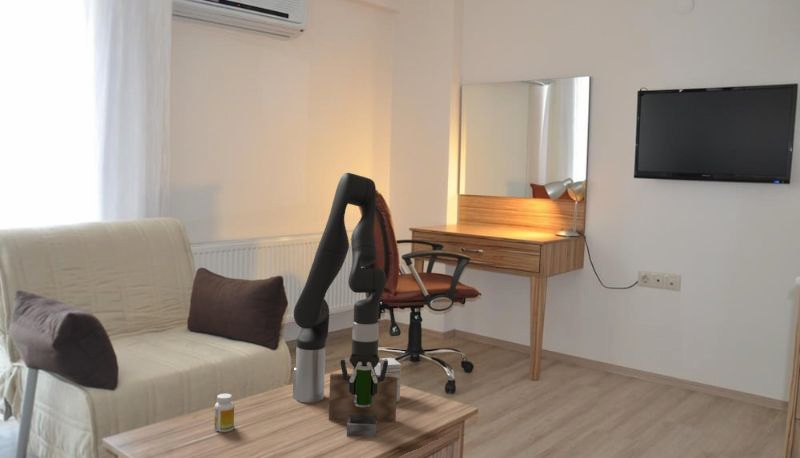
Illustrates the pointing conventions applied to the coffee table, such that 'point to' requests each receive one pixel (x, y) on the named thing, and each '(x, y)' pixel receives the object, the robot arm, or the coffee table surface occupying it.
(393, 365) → the supplement box
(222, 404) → the supplement bottle
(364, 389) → the beer can
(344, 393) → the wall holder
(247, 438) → the coffee table surface
